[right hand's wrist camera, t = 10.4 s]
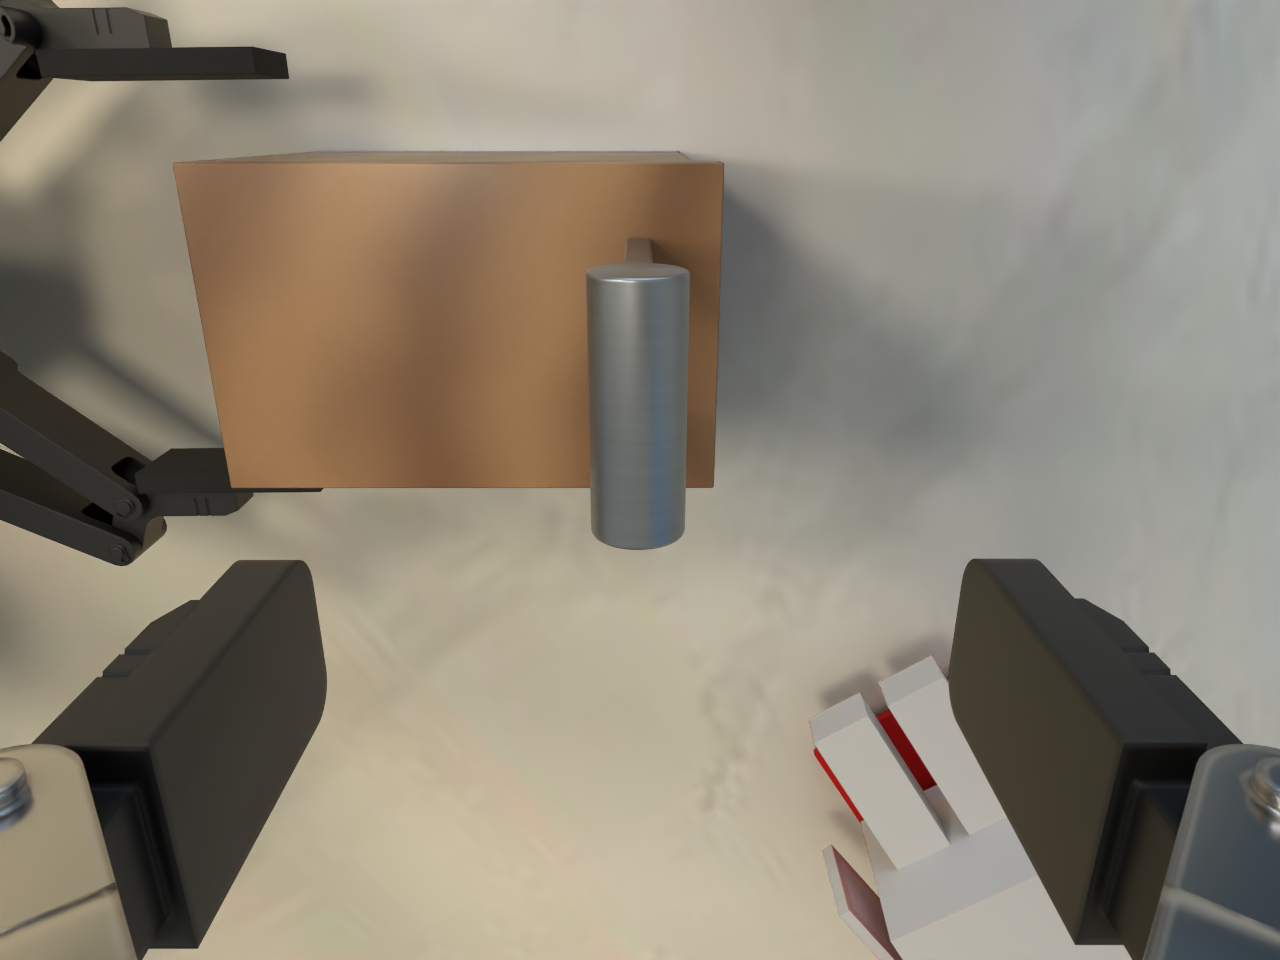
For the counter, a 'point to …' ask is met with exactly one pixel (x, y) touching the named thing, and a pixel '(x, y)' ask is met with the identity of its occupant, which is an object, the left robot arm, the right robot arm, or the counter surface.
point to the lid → (465, 326)
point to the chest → (470, 156)
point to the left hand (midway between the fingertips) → (305, 282)
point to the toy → (932, 836)
